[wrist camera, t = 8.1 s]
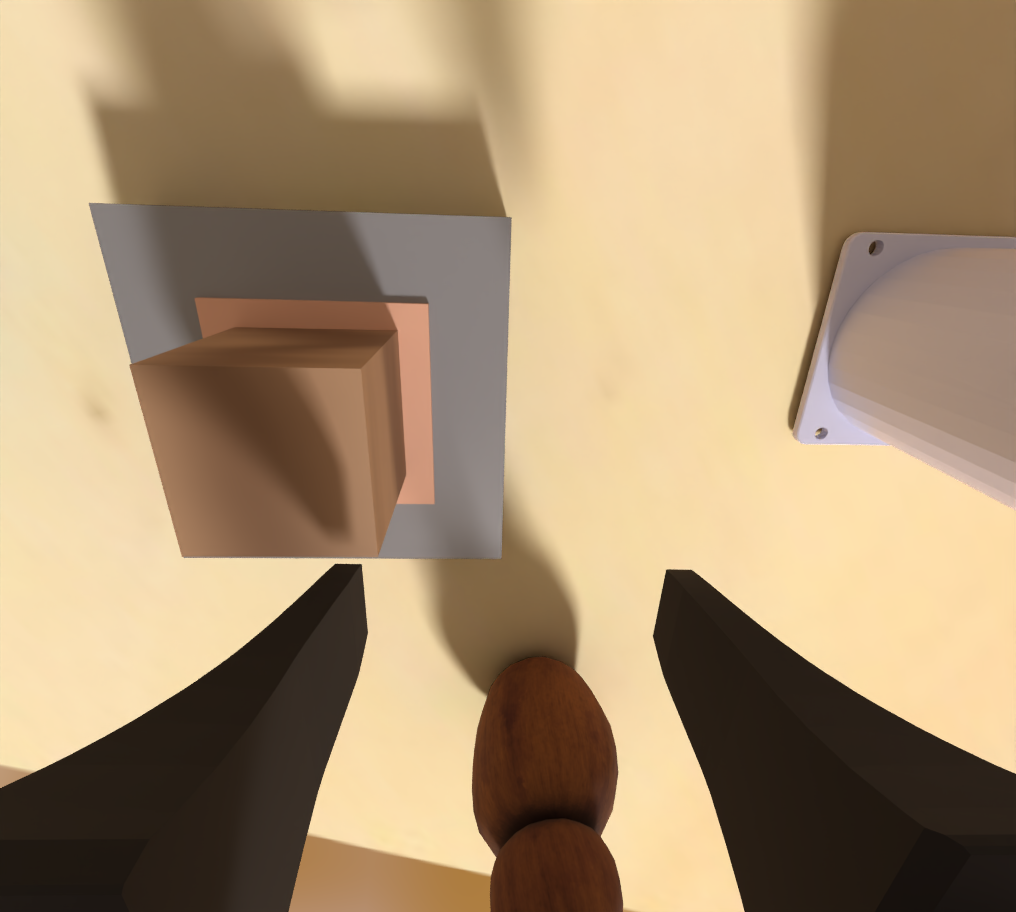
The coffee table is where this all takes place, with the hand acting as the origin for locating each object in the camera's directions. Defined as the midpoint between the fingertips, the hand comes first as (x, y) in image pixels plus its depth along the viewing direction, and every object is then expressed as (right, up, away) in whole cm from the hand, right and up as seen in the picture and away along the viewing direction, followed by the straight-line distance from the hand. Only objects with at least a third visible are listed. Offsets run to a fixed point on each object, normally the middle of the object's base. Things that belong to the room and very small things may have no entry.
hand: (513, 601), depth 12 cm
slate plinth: (-6, +6, +8) cm, 12 cm away
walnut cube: (-6, +5, +5) cm, 9 cm away
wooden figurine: (+1, -8, +15) cm, 17 cm away
